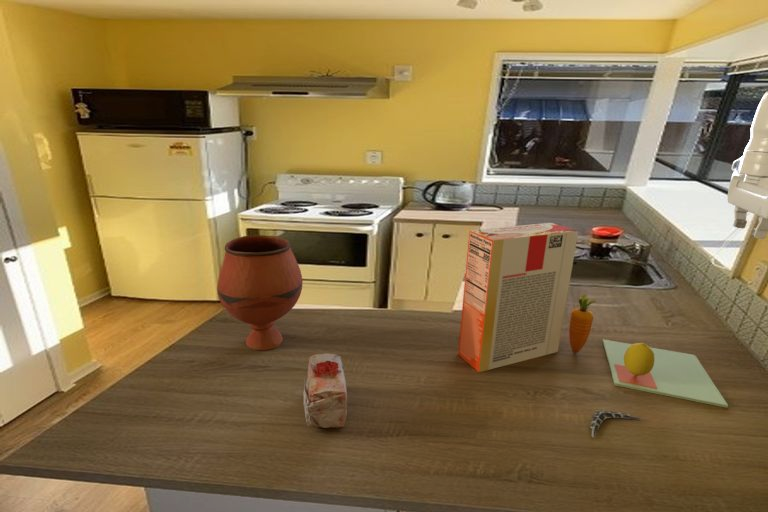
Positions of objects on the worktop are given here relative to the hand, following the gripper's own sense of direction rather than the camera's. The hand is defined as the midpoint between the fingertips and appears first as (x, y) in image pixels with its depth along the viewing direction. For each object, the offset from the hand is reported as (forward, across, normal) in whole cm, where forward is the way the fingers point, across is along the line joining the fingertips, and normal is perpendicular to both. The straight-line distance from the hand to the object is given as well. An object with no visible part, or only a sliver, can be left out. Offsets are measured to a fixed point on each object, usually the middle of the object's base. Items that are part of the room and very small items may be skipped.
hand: (747, 232), depth 90 cm
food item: (+31, -49, +76) cm, 96 cm away
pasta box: (+31, -15, +45) cm, 57 cm away
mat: (+31, -10, +13) cm, 35 cm away
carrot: (+31, -9, +30) cm, 44 cm away
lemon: (+31, -16, +18) cm, 39 cm away
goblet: (+31, -32, +101) cm, 110 cm away
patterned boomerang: (+31, -33, +26) cm, 52 cm away
